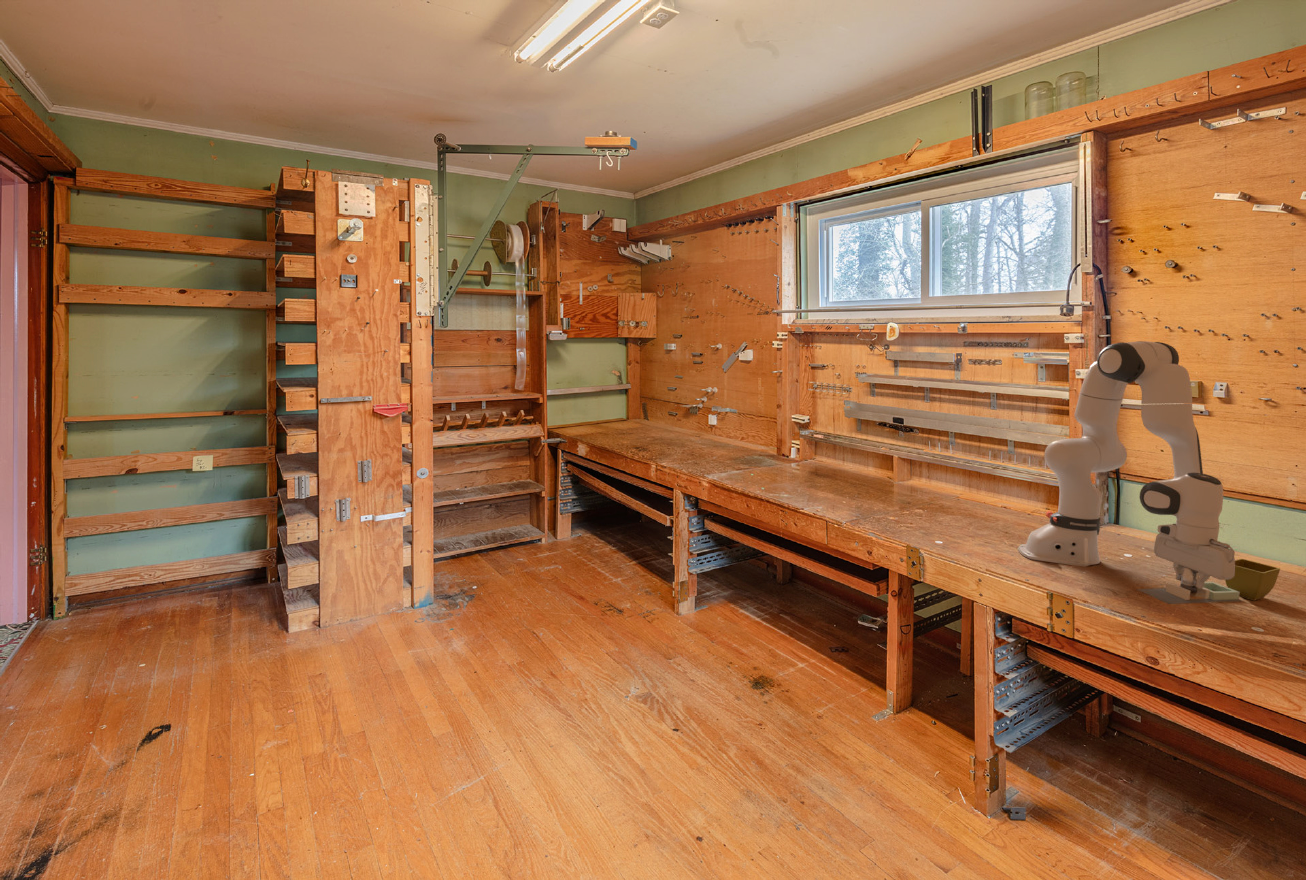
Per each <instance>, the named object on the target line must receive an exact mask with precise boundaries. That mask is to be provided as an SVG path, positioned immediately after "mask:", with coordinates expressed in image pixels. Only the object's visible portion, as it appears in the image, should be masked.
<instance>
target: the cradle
mask: <svg viewBox="0 0 1306 880" xmlns="http://www.w3.org/2000/svg"><path fill="white" fill-rule="evenodd" d="M1165 588H1166V592H1169V593H1171V594H1173V595H1176V596H1178V597H1180V598H1183V599H1185V600H1189V599H1209V594H1210V590H1208V589H1206V588H1198V590H1197V595H1190V590H1187V589H1185V588H1183V587H1180V585H1177V584H1175V583H1172V582H1166V587H1165Z"/></svg>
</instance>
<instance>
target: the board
mask: <svg viewBox="0 0 1306 880" xmlns="http://www.w3.org/2000/svg"><path fill="white" fill-rule="evenodd" d="M1136 591H1138V592H1141V593H1144V594H1145V595H1148V596H1149V597H1152V598H1153V599H1154V598H1155V599H1157V600H1158V601H1162V602H1163V603H1166V604H1167V605H1176V604H1177V605H1179V604H1203V603H1206V604H1207V603H1229V602H1231V603H1232V602H1234V603H1235V602H1243V600H1241V599H1240V598H1239V599H1232V600H1212V599H1189V600H1185V599H1183V598H1180V597H1178V596H1176V595H1173V594H1171V593H1169V592H1166V587H1165V588H1142V589H1141V588H1140V589H1139V588H1137V589H1136ZM1212 591H1213V590H1212Z"/></svg>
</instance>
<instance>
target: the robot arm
mask: <svg viewBox="0 0 1306 880" xmlns="http://www.w3.org/2000/svg"><path fill="white" fill-rule="evenodd" d="M1179 362H1180V355H1179V353H1178V351H1177V349H1176V348H1175V347H1174V346H1172V345H1170V344H1169V343H1168V344H1167V343H1165V342H1162V341H1161V342H1160V341H1146V340H1145V341H1143V340H1138V341H1131V342H1128V341H1127V342H1117V343H1112V344H1110V345H1107V346H1105V347H1104V348H1103V349H1102V350H1101V351H1100V352H1099V354H1098V356H1097V360H1096V361H1094V362H1093V363H1092V364H1090V366H1089V368H1088V370H1087V371H1086V375H1085V376H1084V378H1083V382H1082V384H1081V387H1080V391H1079V394H1078V398H1077V403H1076V406H1075V411H1074V414H1073V415H1074V416H1073V417H1074V419H1075V420H1076V422H1077V423H1079V424H1080V425H1081V428H1082V436H1081V438H1080V437H1077V438H1076V437H1075V438H1074V437H1073V438H1071V437H1070V438H1062V439H1058V440H1055V441H1052V442H1050V443H1048V445H1047V446H1046V448H1045V450H1044V454H1043V458H1044V459H1043V460H1044V462H1045V465H1046V466H1047V467H1048V468H1049V470H1051V471H1052V472H1053V473H1054V475H1055V476H1056V480H1057V483H1058V487H1059V495H1058V496H1059V498H1058V509H1057V511H1056V512H1054V513H1053V512H1052V511H1050V510H1049V511H1048V510H1047V512H1046V513H1045V516H1046V517H1047V519H1049V523H1047V524H1045V525H1042V526H1041V527H1038V528H1037V529H1034V530H1032V531H1031V532H1030V533H1029V535H1028V538H1027V540H1026V543H1024V544H1023V543H1022V544H1020V545H1019V546H1018V548H1017V549H1018V552H1019V553H1020V554H1021V555H1022V556H1024V557H1025V558H1028V559H1030V560H1033V561H1039V562H1049V563H1054V564H1060V565H1061V564H1062V565H1068V566H1069V565H1070V566H1075V567H1088V566H1092V565H1093V566H1094V565H1098V564H1100V563H1101V558H1100V553H1099V539H1098V536H1099V534H1100V530H1101V517H1100V513H1101V505H1102V493H1101V491H1100V490H1099V489H1098V488H1097V487H1096V486H1094V485H1093V482H1092V478H1091V477H1092V475H1091V474H1092V473H1107V472H1110V471H1111V472H1112V471H1114V470H1117V469H1119V468H1121V467H1123V466H1124V465H1125V463H1126V461H1127V458H1128V457H1127V456H1128V452H1127V449H1126V446H1125V445H1124V443H1122V442H1121V441H1120V438H1119V435H1118V419H1119V415H1120V410H1121V406H1122V403H1123V399H1124V394H1125V391H1126V388H1127V386H1128V385H1129V384H1131V383H1133V382H1134V383H1136V384H1138V386H1139V387H1140V391H1141V399H1140V400H1141V402H1140V403H1141V407H1140V410H1141V411H1140V412H1141V413H1140V417H1141V420H1142V424H1143V426H1144V427H1145V429H1146V430H1147V431H1148V432H1149V433H1151V434H1152V435H1155V436H1157V437H1159V438H1161V439H1163V440H1164V441H1165V442H1166V443H1167V444H1168V445H1169V448H1170V449H1171V453H1172V463H1173V471H1174V473H1173V474H1174V475H1173V478H1169V479H1160V480H1154V481H1150V482H1147V483H1146V484H1144V485H1143V486H1142V487H1141V489H1140V492H1139V502H1140V504H1141V506H1142V507H1143V508H1144V510H1145V511H1147V512H1148V513H1150V514H1153V515H1158V516H1174V517H1175V519H1176V522H1175V523H1171V524H1169V523H1168V524H1160V525H1158V526H1157V534H1156V536H1155V540H1154V547H1153V552H1154V554H1155V556H1156V557H1157V558H1160V559H1163V560H1166V561H1168V562H1171V563H1173V564H1172V568H1173V570H1174V572H1175V580H1176V581H1180V582H1181V577H1182V569H1183V566H1184V567H1187V568H1190V569H1192V570H1195V571H1198V576H1199V578H1198V579H1197V580H1193V583H1194V584H1193V586H1194V587H1197V588H1203V587H1204V582H1207V580H1209V578H1210V577H1212V578H1214V579H1217V580H1220V581H1225V580H1229V579H1232V578H1233V577H1234V575H1235V560H1236V559H1235V553H1236V552H1235V550H1234V549H1233V548H1232V546H1231V545H1230V544H1228V543H1227V542H1226V543H1225V542H1222V541H1219V540H1218V539H1219V534H1220V533H1219V532H1220V520H1219V517H1220V515H1221V513H1222V511H1223V505H1224V504H1223V503H1224V487H1223V484H1222V481H1221V480H1220V479H1218V478H1217V477H1215V476H1213V475H1210V474H1206V473H1204V470H1203V463H1202V452H1201V443H1200V437H1199V431H1198V430H1197V427H1196V425H1195V421H1194V415H1193V414H1194V413H1193V390H1192V389H1193V388H1192V383H1191V378H1190V374H1189V371H1188V370H1187V368H1186V367H1184V366H1183V365H1180V363H1179Z"/></svg>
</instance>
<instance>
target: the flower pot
mask: <svg viewBox="0 0 1306 880" xmlns="http://www.w3.org/2000/svg"><path fill="white" fill-rule="evenodd" d="M1280 571H1281V568H1280V567H1277V566H1272V565H1270V564H1269V565H1268V564H1264V563H1260V562H1258V561H1253V560H1248V559H1246V558H1245V559H1244V558H1239V559H1235V575H1234V577H1233V578H1232V579H1229V580H1224V581H1225V585H1226V587H1228V588H1230V589H1233V590H1236V591H1238V592H1240V594H1239V598H1240V597H1242V598H1243V599H1247V600H1249V601H1258V600H1260V599H1263V598H1265V597H1266V596H1267V595H1269V594H1270V592H1271V591H1272V590H1273V589H1274V587H1275V585H1276V582H1277V580H1278V578H1279V574H1280Z"/></svg>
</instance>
